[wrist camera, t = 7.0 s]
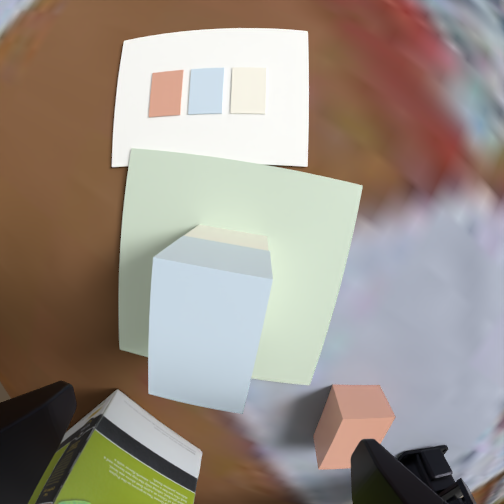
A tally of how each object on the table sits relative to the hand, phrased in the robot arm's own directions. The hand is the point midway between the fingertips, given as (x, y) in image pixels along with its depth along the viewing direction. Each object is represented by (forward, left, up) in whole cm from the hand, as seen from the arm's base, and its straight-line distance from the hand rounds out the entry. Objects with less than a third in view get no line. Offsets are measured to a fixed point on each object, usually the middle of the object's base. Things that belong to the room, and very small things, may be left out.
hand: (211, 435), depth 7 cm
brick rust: (-9, -10, -12) cm, 18 cm away
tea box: (-19, +9, -12) cm, 24 cm away
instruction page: (+12, +4, -12) cm, 17 cm away
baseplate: (+1, +1, -12) cm, 12 cm away
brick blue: (+1, +1, -7) cm, 7 cm away
